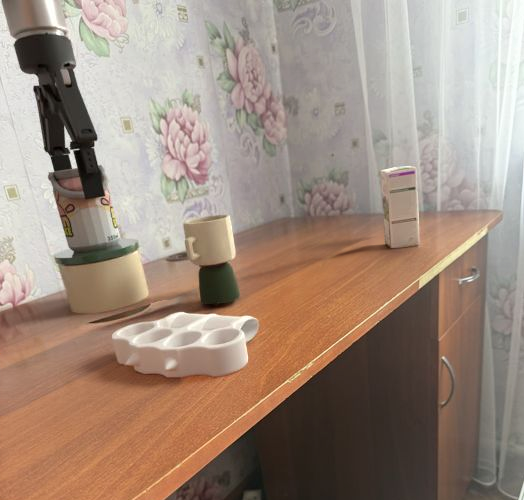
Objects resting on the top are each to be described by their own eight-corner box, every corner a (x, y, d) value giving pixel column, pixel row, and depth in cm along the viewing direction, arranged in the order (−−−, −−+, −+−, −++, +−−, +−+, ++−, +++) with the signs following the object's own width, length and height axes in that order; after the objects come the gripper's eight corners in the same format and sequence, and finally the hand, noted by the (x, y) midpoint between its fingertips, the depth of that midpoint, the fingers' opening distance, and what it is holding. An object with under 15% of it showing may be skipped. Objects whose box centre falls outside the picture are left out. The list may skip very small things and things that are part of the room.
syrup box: (420, 245, 96) (418, 165, 91) (389, 249, 97) (386, 170, 91) (412, 239, 102) (410, 164, 96) (383, 243, 102) (379, 169, 96)
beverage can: (128, 245, 77) (109, 163, 73) (72, 256, 74) (48, 172, 70) (117, 239, 85) (99, 165, 81) (66, 249, 82) (44, 173, 78)
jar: (63, 314, 85) (45, 253, 82) (135, 293, 92) (121, 236, 88) (85, 330, 75) (65, 261, 71) (165, 305, 81) (150, 241, 78)
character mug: (223, 291, 85) (209, 213, 80) (258, 292, 81) (246, 210, 76) (181, 312, 76) (163, 227, 72) (218, 315, 73) (202, 225, 68)
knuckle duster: (282, 337, 61) (213, 392, 50) (170, 328, 70) (90, 373, 59) (279, 311, 60) (207, 361, 48) (165, 305, 69) (83, 346, 57)
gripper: (95, 12, 61) (134, 193, 69) (48, 57, 80) (83, 193, 88) (31, 11, 57) (80, 202, 65) (-2, 58, 77) (39, 200, 85)
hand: (82, 197), depth 77 cm, fingers open, 13 cm apart
